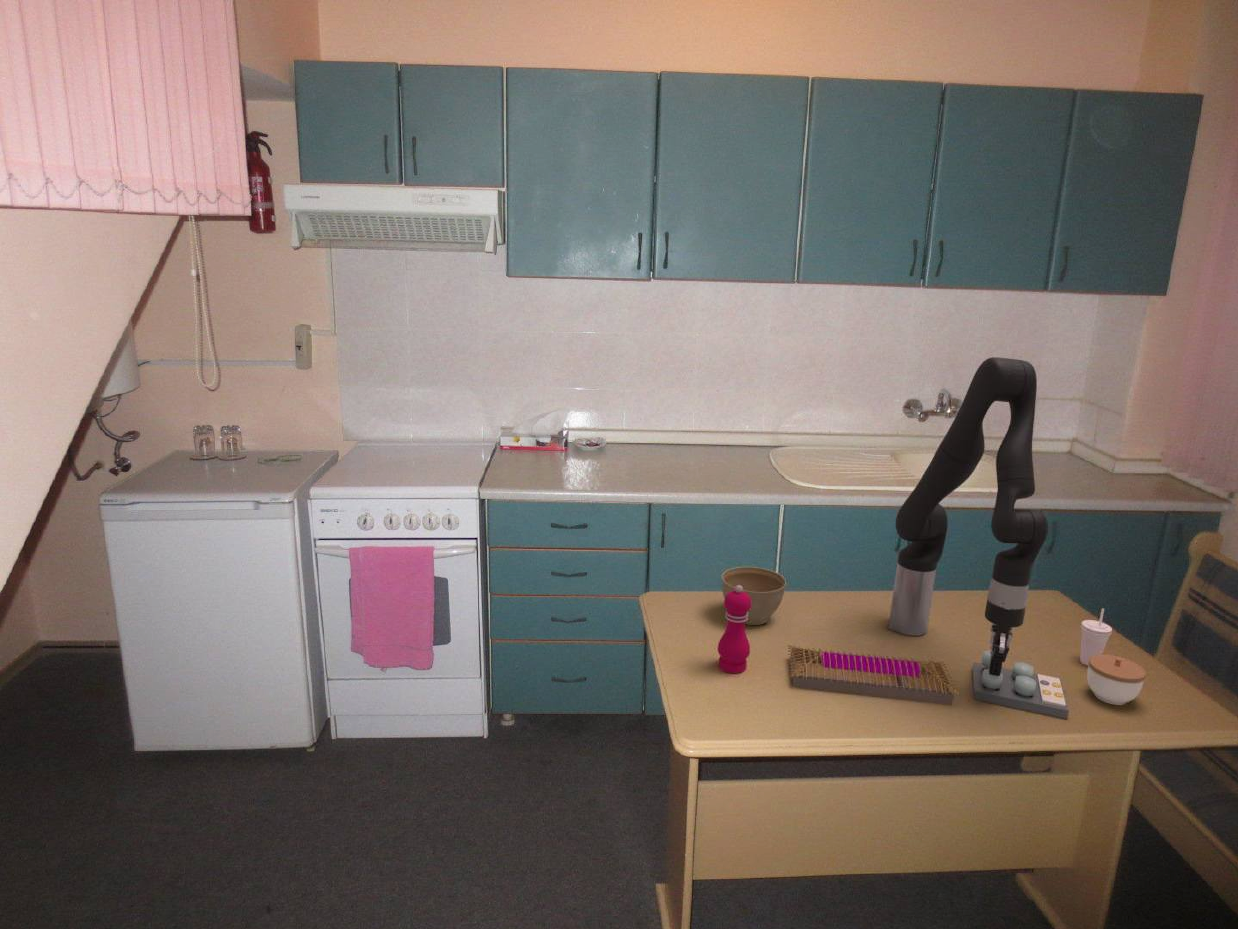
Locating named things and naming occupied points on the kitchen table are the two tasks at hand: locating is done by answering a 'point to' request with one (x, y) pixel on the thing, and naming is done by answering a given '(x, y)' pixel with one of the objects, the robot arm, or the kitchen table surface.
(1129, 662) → the lidded jar
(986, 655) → the button far left
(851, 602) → the kitchen table surface
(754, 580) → the planter bowl
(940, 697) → the rafter model
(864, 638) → the kitchen table surface
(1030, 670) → the button far right
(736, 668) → the pepper mill
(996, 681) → the button near left
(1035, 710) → the button board
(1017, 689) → the button near right
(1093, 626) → the smoothie
